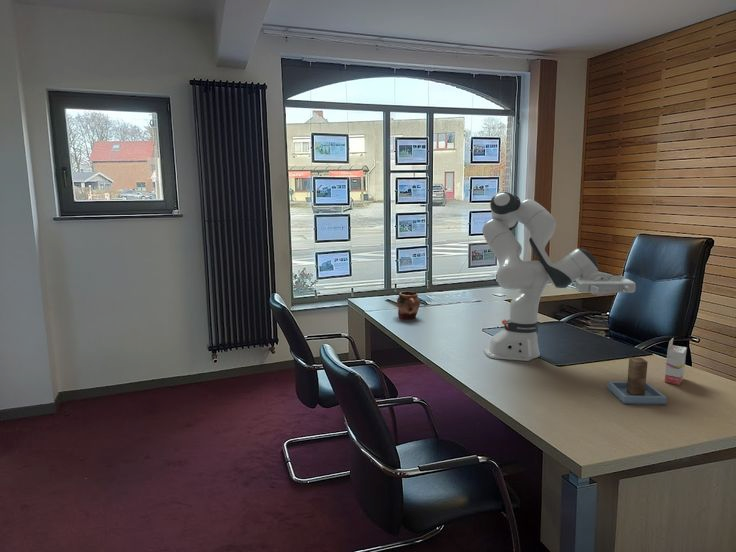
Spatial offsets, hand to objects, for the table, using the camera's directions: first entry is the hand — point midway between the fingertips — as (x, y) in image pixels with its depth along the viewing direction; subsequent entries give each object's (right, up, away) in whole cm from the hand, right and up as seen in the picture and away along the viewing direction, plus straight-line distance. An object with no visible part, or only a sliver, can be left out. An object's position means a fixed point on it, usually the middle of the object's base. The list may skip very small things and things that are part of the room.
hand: (613, 290), depth 177 cm
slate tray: (+1, -35, -13) cm, 37 cm away
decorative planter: (-65, -18, +93) cm, 115 cm away
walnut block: (+1, -34, -13) cm, 36 cm away
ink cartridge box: (+22, -32, +1) cm, 39 cm away
